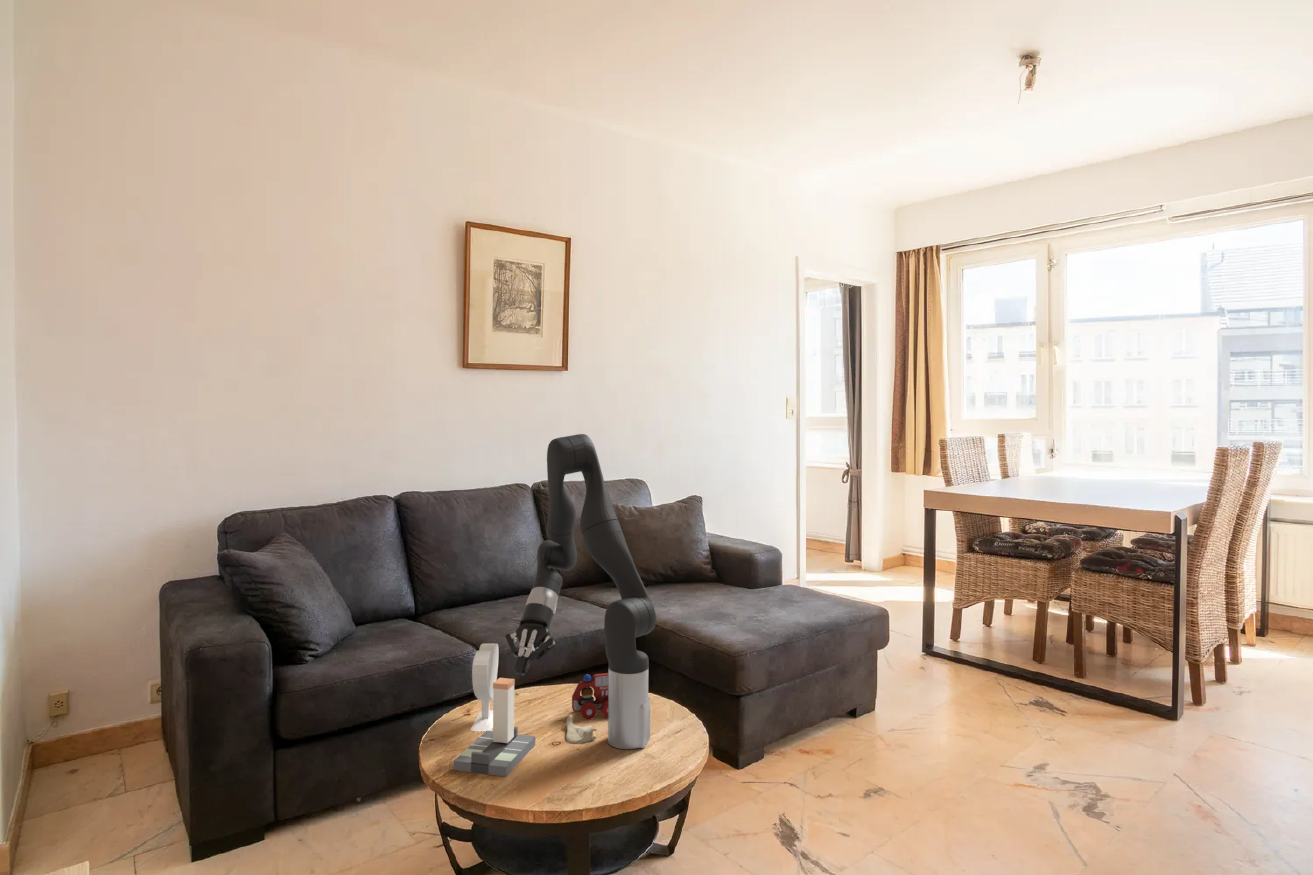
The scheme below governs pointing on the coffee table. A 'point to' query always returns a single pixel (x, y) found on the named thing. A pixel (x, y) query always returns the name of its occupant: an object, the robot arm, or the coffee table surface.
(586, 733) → the fossil
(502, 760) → the console
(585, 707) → the toy fire truck
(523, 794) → the coffee table surface
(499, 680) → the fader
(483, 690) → the heart sculpture
